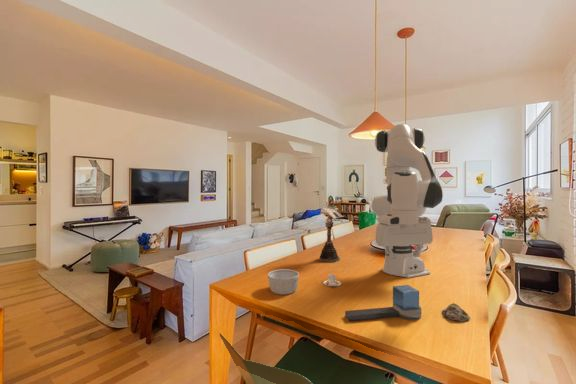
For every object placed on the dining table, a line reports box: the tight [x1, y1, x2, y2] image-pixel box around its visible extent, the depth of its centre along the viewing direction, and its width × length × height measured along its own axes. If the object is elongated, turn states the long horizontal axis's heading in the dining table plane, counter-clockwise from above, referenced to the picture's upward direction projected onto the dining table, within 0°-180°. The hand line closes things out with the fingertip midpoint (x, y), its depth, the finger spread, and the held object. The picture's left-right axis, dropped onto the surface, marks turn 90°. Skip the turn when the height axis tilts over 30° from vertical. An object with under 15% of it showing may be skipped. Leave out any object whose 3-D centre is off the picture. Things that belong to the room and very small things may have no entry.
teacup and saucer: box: [322, 273, 342, 287], centre depth 123 cm, size 9×8×4 cm
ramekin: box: [267, 268, 300, 296], centre depth 116 cm, size 13×13×7 cm
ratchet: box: [344, 303, 422, 323], centre depth 92 cm, size 26×9×6 cm, turn 99°
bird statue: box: [319, 201, 346, 263], centre depth 162 cm, size 17×13×35 cm
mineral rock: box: [441, 302, 471, 323], centre depth 92 cm, size 11×4×8 cm
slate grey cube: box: [392, 284, 420, 311], centre depth 94 cm, size 6×6×6 cm
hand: (404, 257), depth 95 cm, fingers open, 8 cm apart
